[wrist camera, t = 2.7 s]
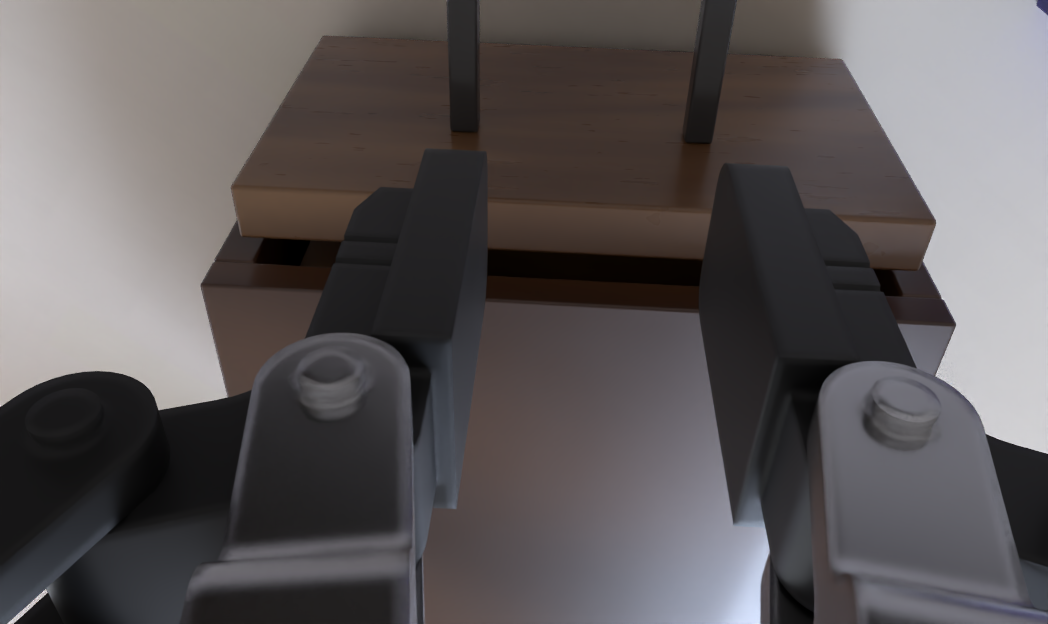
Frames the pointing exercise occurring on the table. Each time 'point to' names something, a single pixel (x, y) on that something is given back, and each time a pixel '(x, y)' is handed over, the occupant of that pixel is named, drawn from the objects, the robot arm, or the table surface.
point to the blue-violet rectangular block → (1043, 5)
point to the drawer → (577, 147)
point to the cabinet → (566, 442)
